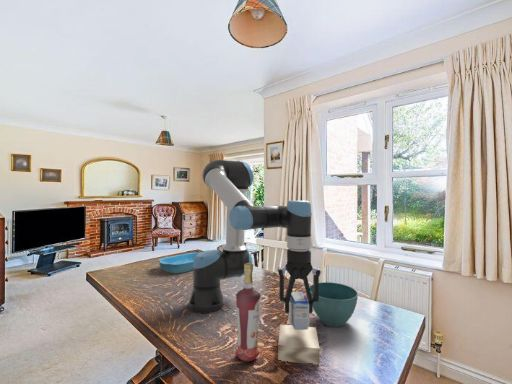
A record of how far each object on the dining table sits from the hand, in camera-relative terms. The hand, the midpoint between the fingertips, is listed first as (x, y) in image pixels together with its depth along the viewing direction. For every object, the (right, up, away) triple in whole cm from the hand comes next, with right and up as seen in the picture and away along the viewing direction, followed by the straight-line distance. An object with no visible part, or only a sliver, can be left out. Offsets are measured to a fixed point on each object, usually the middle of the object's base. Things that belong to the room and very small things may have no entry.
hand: (298, 322), depth 81 cm
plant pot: (+16, -9, +19) cm, 26 cm away
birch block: (0, -9, 0) cm, 9 cm away
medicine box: (0, -1, 0) cm, 1 cm away
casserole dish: (-60, -10, +90) cm, 108 cm away
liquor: (-16, -9, -4) cm, 19 cm away
